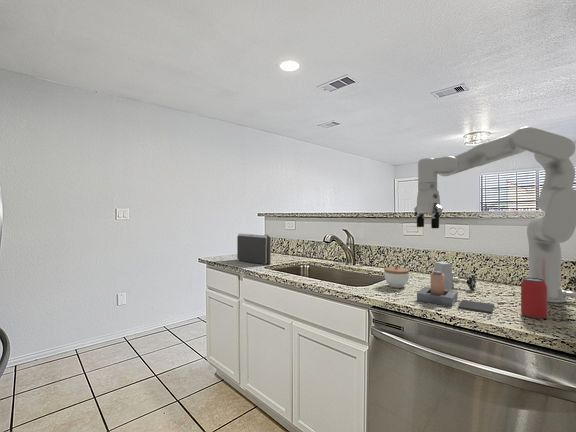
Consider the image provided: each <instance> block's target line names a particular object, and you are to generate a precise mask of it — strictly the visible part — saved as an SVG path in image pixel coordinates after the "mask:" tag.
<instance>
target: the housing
mask: <svg viewBox="0 0 576 432" xmlns="http://www.w3.org/2000/svg"><path fill="white" fill-rule="evenodd" d="M457 300H458V290H453V289H452V290H446V289H444V295H440V294H432V293H431V286H423V288H421V289H420V290H419V291H418V292H417V293H416V301H417V302H422V303H428V304H434V305H442V306H448V307H453V306H454V305H455V303H456V302H457ZM453 304H454V305H453Z"/></svg>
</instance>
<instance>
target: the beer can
mask: <svg viewBox="0 0 576 432" xmlns="http://www.w3.org/2000/svg"><path fill="white" fill-rule="evenodd" d="M520 283H521V284H520V313H521V315H523V316H525V317H527V318H531V319H537V320H539V319H540V320H541V319H542V320H543V319H547V317H548V302H547V286H546V283H545V280H543V279H540V278H532V277H529V276H528V277H527V276H526V277H525V276H524V277H523V278H522V281H521V282H520Z"/></svg>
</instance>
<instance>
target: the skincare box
mask: <svg viewBox="0 0 576 432" xmlns="http://www.w3.org/2000/svg"><path fill="white" fill-rule="evenodd" d="M452 266H453V265H452V263H450V262H446V261H434V266H433V267H434V268H433V269H434V270H433V271H440V272H442V274H444V289H446V290H453V287H452V272H453V271H452V269H453V268H452Z"/></svg>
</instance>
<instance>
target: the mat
mask: <svg viewBox="0 0 576 432" xmlns="http://www.w3.org/2000/svg"><path fill="white" fill-rule="evenodd" d="M494 307H495V304H494V303H486V302H479V301H473V300H466V299H461V301H460V303H459V304H458V306H457V309H461V310H466V311H467V310H468V311H473V312H479V313H486V314H493V311H494Z"/></svg>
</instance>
